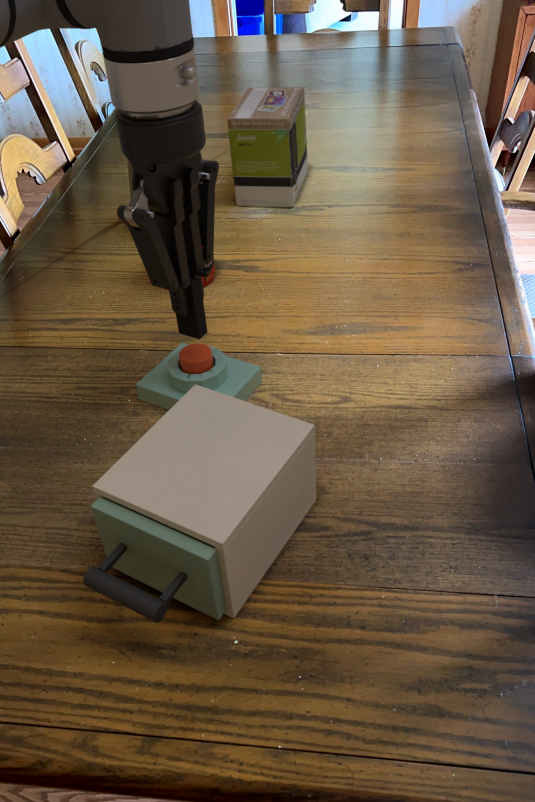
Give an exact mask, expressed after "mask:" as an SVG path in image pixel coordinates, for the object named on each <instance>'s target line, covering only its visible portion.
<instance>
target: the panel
mask: <svg viewBox="0 0 535 802" xmlns="http://www.w3.org/2000/svg"><path fill="white" fill-rule="evenodd" d="M188 345H190V343H186V342H181V343H180V344H179V345H178V346H176V347H175V348H174V349H173V350H171V352H170V353H169V354H167V355H166V356H165V357H164V358H163V359H162V360H161V361H160V362H159V363H158V364H156V365H155V366H154V367H153V368H152V369H151V370H149V372H147V373H146V374H145V375H144V376H143V377H142V378H141V379H140V380H139V381H138V382H136V383H135V389H136V393H137V397H138V400H140V401H143V402H144V403H148V404H151V405H153V406H156V407H159V408H161V409H164V410H167V411H169V410H170V409H171V408H172V407H173V406H174V405H175V404H176V403H177V402H178V401H179V400H180V399H181V398H182V397H183V396H184V395H185V394H186V393H187V392H188V391H189V390H190V389H191V388H192V387H193V386H194V385H199V386H201V387H204V388H207V389H210V390H213V391H216V392H219V393H222V394H225V395H228V396H231V397H234V398H237V399H240V400H243V401H246V400H247V399H248V398H249V397H250V396H251V395H252V394H253V393H254V392H255V390H256V389H257V388H258V387H259V386H260V385H261V384H262V383H263V375H262V367H261V366H260V365H256V364H253V363H250V362H247V361H243V360H240V359H237V358H234V357H230V356H228V355H225V354H224V352H223V351H222V350H221V349H220V348H217V347H214V346H211V345H208V346H209V347H210V348H211V350H212V357H213V367H212V369H211V370H210V371H207V372H204V373H202V374H187V373H184V372H183V371H182V369H181V365H180V359H179V352H180V351H181V349H182V348H184V347H185V346H188Z"/></svg>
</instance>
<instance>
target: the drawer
mask: <svg viewBox="0 0 535 802" xmlns="http://www.w3.org/2000/svg"><path fill="white" fill-rule="evenodd" d="M90 509H91V512H92V516H93V519H94V521H95V524H96V528H97V531H98V534H99V538H100V540H101V544H102V546H103V550H104V552H105V556H106V558H105V559H104V560H103V562H102V563H100V565H99V566H98V567H97V566H90V567H89V568H88V569H87V571H86V572H85V574H84V575H83V580H82V584H83V586H86V588H89V589H91V590H92V591H95V592H96V593H98V594H99V595H102V596H104V597H105V598H108V599H110V600H112V601H114V602H115V603H117V604H119V605H121V606H123V607H125V608H127V609H128V610H131V611H132V612H134V613H137V615H138V614H139V615H140V616H142V617H144V618H146V619H148V620H150V621H151V622H153V623H155V624H159V623H160V622H161V621H162V620H163V619H164V618H165V616H166V614H167V611H168V604H169V603H170V601H171V600H172V599H174V600H177V601H179V602H181V603H183V604H185V605H187V606H189V607H191V608H192V609H195V610H197V611H199V612H201V613H203V614H205V615H207V616H209V617H211V618H212V619H215V620H216V621H220V619H221V618H222V617H223V615H225V614H224V612H225V611H226V605H225V598H224V592H223V586H222V580H221V574H220V568H219V562H218V556H217V550H216V549H215V546H212V545H210V544H208V543H206V542H203V541H201V540H199V539H197V538H195V537H192V536H190V535H188V534H186V533H183V532H181V531H179V530H177V529H174V528H172V527H170V526H168V525H166V524H163V523H161V522H159V521H157V520H154V519H152V518H150V517H148V516H146V515H143V514H141V513H139V512H137V511H134V510H132V509H130V508H128V507H125V506H123V505H122V506H119V505H117V504H115V503H113V502H111V501H108V500H106V499H104V498H102V497H99V498H98V499H97V500H96V499H95V500H94V501H93V503H92V504H91V505H90ZM111 568H113V569H114V570H117V571H119V572H121V573H123V574H125V575H126V576H129V577H131V578H132V579H135V580H137V581H138V582H141V583H142V584H145V585H147V586H149V587H151V588H153V589H155V590H157V591H159V592H161V593H162V594H161V595H160V596H159V597H156V596H154V595H152V594H150V593H148V592H147V591H144V590H143V589H141V588H138V587H136V586H135V585H133V584H131V583H128V582H127V581H125V580H122V579H121V578H119V577H117V576H115V575H113V574H111V573H109V571H110V570H111Z"/></svg>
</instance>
